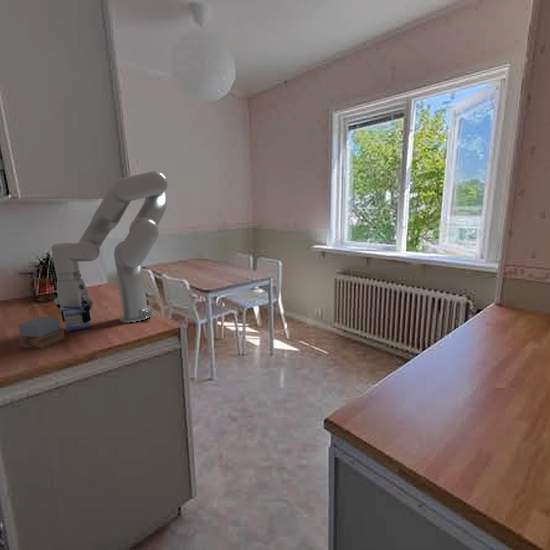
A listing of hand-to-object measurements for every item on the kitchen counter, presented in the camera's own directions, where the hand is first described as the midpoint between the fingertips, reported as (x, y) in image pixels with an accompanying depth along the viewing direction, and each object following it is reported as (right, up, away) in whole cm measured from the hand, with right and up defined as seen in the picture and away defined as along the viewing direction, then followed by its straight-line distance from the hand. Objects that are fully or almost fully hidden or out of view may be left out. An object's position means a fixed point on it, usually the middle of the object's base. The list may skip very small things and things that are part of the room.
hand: (77, 321), depth 130 cm
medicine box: (0, -3, +1) cm, 3 cm away
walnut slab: (-5, -6, -12) cm, 14 cm away
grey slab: (-5, -2, -12) cm, 14 cm away
